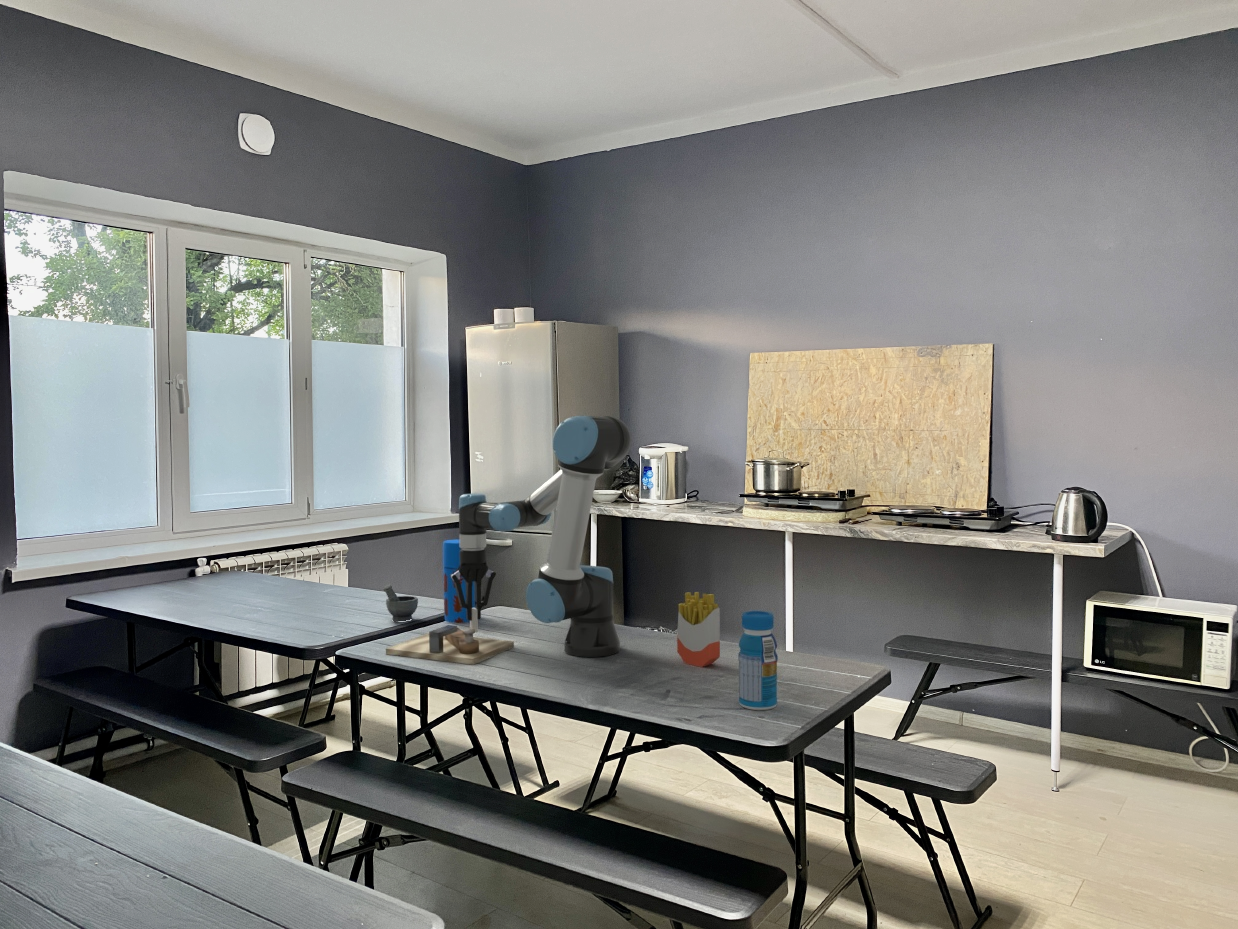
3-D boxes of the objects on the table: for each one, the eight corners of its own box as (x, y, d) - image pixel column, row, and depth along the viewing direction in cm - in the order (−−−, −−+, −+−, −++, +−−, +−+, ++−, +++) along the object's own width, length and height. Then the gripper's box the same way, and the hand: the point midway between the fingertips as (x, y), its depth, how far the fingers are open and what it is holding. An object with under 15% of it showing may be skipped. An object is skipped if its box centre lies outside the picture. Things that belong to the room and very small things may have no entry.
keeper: (457, 646, 239) (457, 626, 239) (438, 653, 231) (438, 632, 231) (448, 645, 240) (448, 625, 240) (429, 652, 233) (429, 631, 232)
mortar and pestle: (408, 615, 286) (408, 579, 286) (423, 620, 279) (423, 582, 279) (377, 621, 278) (376, 583, 278) (391, 625, 272) (390, 587, 271)
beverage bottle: (737, 710, 187) (737, 617, 186) (738, 698, 195) (738, 609, 195) (778, 712, 186) (778, 618, 185) (777, 700, 194) (777, 610, 193)
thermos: (475, 622, 275) (473, 543, 274) (441, 623, 275) (439, 543, 274) (481, 615, 285) (480, 538, 284) (448, 615, 286) (447, 539, 285)
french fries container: (708, 669, 219) (707, 598, 218) (676, 661, 227) (675, 592, 226) (720, 666, 222) (719, 595, 221) (688, 658, 230) (687, 590, 229)
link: (481, 652, 231) (481, 630, 231) (462, 654, 229) (461, 632, 229) (459, 635, 251) (458, 615, 251) (441, 637, 249) (440, 617, 248)
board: (513, 646, 244) (513, 641, 244) (473, 664, 226) (473, 658, 226) (430, 637, 255) (430, 632, 255) (385, 654, 237) (385, 648, 237)
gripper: (491, 545, 254) (492, 626, 255) (446, 548, 248) (447, 631, 250) (499, 548, 247) (499, 631, 248) (453, 551, 242) (454, 636, 243)
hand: (473, 631), depth 249 cm, fingers closed
